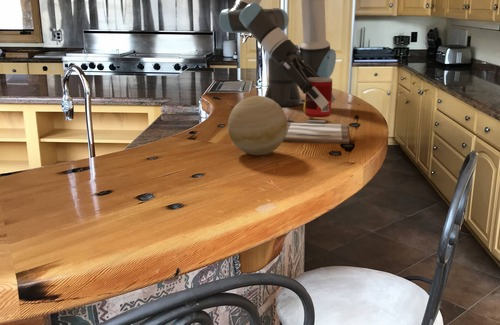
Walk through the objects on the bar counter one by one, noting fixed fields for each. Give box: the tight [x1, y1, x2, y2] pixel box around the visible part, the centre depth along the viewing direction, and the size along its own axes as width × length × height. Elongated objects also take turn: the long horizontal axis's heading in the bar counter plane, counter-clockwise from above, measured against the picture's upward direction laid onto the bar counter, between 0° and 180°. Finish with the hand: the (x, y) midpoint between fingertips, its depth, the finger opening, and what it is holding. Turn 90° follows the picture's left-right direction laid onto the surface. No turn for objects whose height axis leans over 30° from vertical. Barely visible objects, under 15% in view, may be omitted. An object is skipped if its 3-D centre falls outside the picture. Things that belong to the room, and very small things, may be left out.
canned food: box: [304, 77, 333, 118], centre depth 156 cm, size 8×8×11 cm
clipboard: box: [282, 119, 350, 145], centre depth 159 cm, size 26×20×2 cm
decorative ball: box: [227, 95, 288, 156], centre depth 132 cm, size 15×15×15 cm
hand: (329, 103), depth 155 cm, fingers closed on canned food, 8 cm apart
